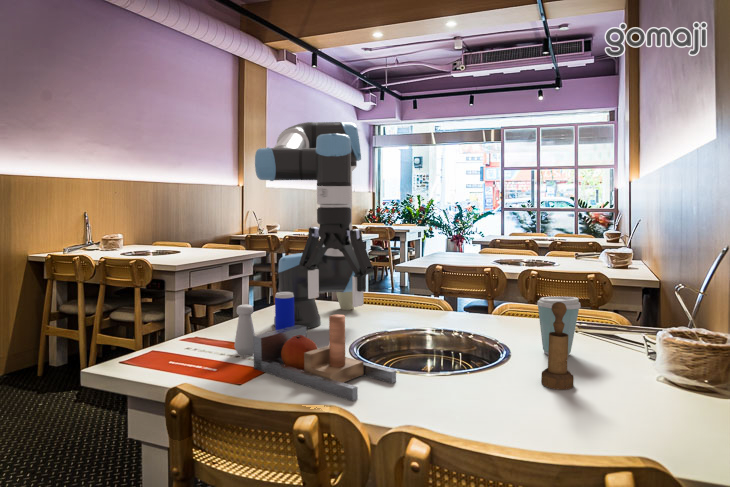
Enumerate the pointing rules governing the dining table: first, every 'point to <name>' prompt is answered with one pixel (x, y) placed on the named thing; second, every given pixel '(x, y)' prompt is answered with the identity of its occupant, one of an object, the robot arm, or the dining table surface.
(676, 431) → the dining table surface
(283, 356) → the fruit
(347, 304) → the mug
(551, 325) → the disposable coffee cup
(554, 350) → the mortar and pestle
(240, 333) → the salt shaker
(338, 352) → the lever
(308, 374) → the press base
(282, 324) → the beverage can
